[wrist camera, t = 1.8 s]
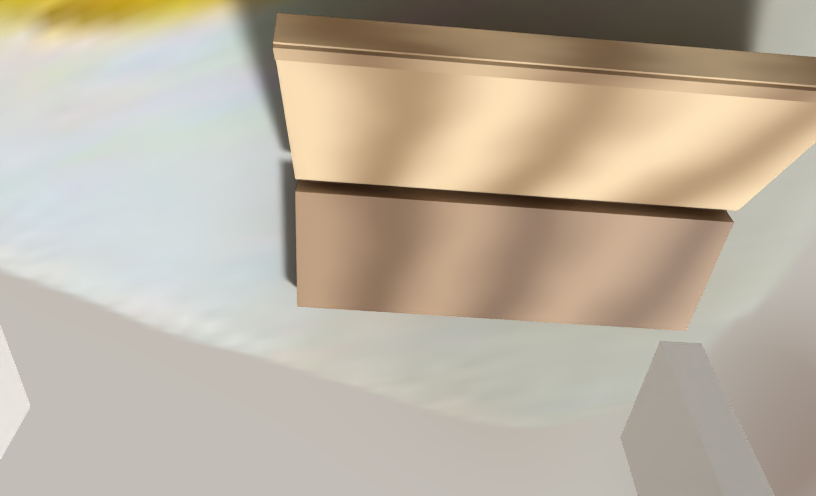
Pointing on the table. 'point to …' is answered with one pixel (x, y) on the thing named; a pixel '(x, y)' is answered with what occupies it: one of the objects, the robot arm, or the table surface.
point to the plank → (539, 112)
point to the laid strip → (503, 255)
